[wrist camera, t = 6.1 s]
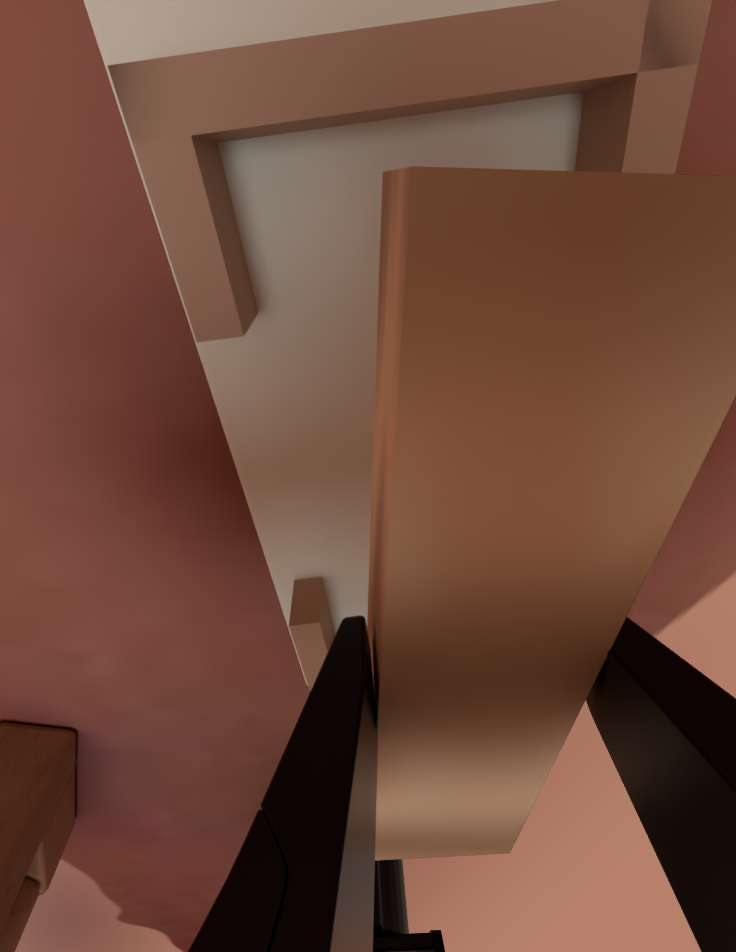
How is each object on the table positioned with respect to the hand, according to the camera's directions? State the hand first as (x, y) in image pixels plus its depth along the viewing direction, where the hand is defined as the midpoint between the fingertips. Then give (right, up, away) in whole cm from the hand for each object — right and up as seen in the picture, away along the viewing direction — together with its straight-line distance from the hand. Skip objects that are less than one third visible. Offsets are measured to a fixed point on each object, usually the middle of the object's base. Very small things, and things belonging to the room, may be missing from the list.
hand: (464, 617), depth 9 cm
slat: (0, +1, +1) cm, 2 cm away
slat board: (0, +4, +6) cm, 7 cm away
